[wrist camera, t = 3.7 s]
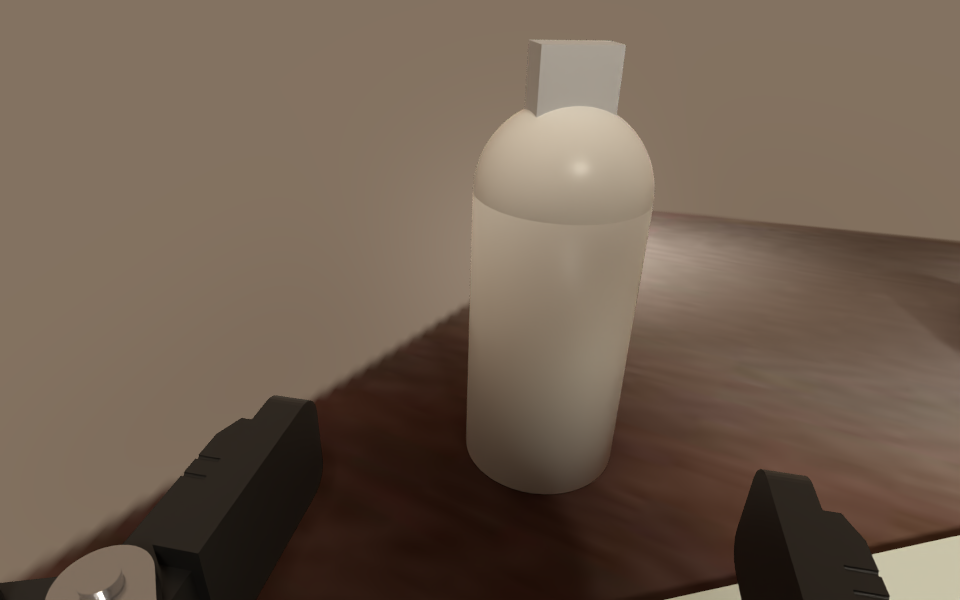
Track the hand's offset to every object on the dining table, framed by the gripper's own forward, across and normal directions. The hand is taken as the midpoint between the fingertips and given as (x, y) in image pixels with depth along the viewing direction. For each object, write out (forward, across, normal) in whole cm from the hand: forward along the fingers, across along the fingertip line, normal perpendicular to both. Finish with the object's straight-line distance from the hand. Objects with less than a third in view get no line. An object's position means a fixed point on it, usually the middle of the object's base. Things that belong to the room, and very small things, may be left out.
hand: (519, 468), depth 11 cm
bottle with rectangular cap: (+8, 0, +6) cm, 11 cm away
